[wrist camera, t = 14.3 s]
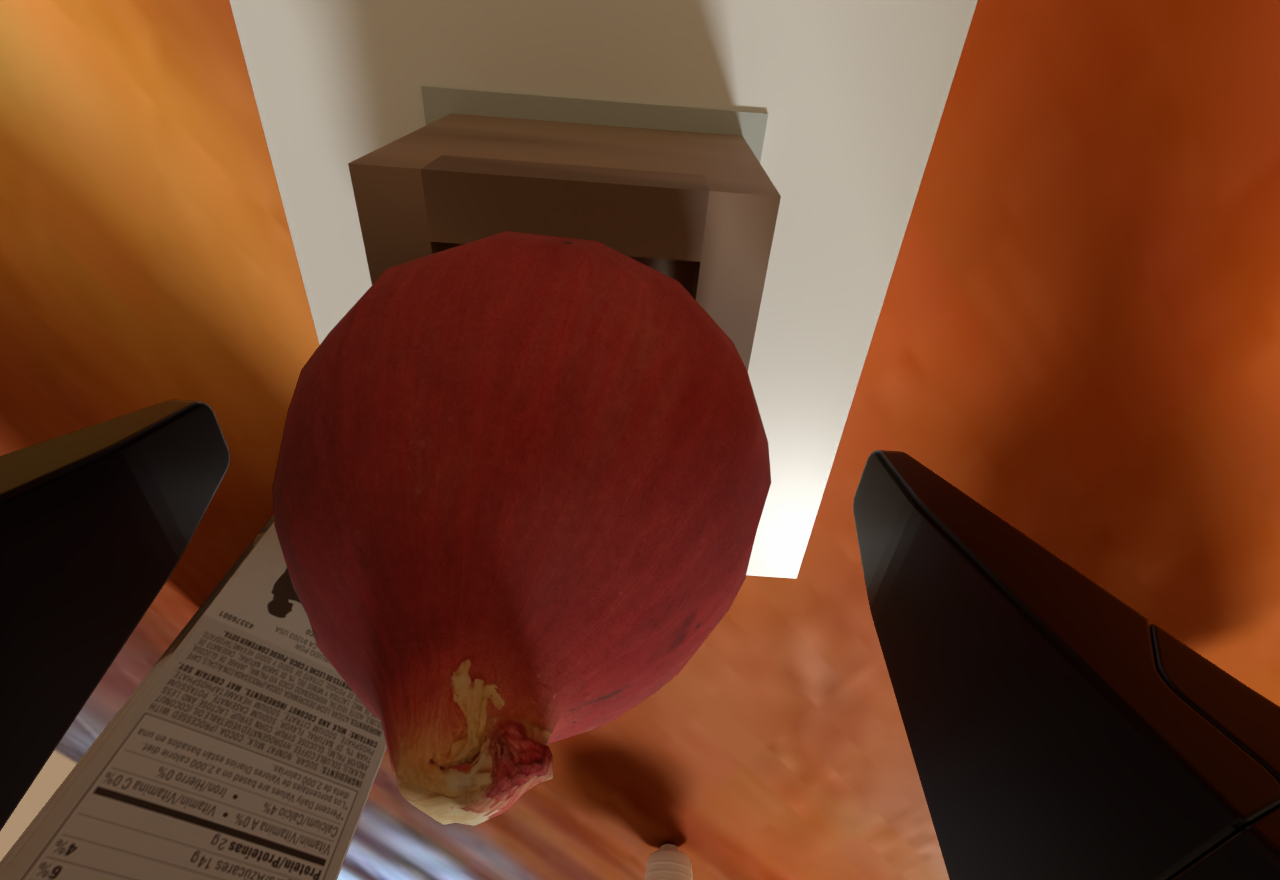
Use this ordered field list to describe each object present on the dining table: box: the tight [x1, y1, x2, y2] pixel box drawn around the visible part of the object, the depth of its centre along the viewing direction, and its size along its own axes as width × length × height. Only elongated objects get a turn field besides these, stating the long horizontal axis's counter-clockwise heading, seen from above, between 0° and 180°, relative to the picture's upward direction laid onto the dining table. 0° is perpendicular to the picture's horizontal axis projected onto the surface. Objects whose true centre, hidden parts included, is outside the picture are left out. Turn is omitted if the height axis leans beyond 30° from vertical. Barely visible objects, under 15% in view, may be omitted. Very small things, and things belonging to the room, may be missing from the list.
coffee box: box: [0, 514, 387, 880], centre depth 17 cm, size 9×6×16 cm
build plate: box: [230, 0, 978, 579], centre depth 15 cm, size 20×14×1 cm
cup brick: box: [348, 113, 781, 372], centre depth 12 cm, size 6×6×5 cm
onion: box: [273, 231, 771, 826], centre depth 8 cm, size 6×6×8 cm
